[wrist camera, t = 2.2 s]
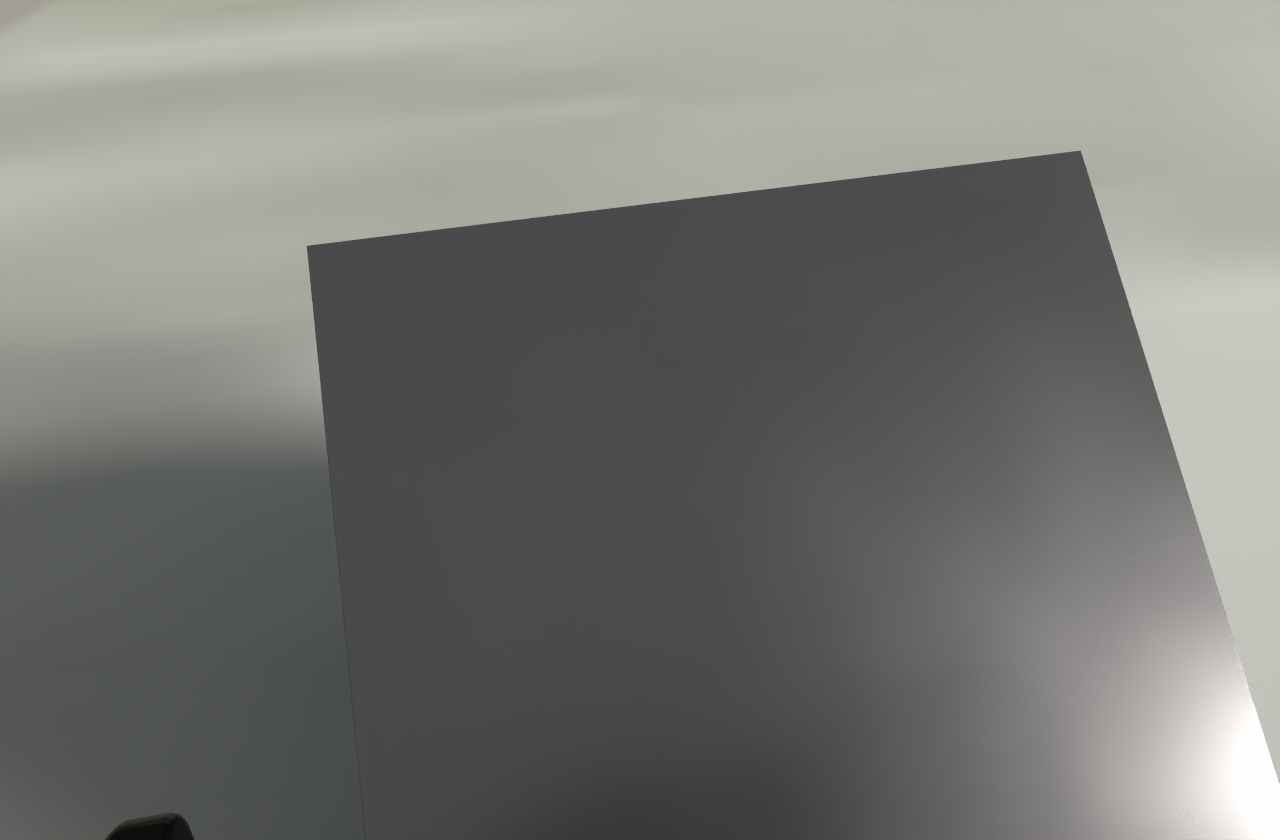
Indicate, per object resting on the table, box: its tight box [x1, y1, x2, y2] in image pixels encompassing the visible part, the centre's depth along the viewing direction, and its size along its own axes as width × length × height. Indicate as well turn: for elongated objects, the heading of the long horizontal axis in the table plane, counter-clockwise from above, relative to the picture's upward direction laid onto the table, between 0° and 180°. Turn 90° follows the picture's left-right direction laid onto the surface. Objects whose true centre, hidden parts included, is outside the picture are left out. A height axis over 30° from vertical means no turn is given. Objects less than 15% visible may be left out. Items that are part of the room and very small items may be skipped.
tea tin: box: [307, 151, 1280, 840], centre depth 12 cm, size 6×6×10 cm
